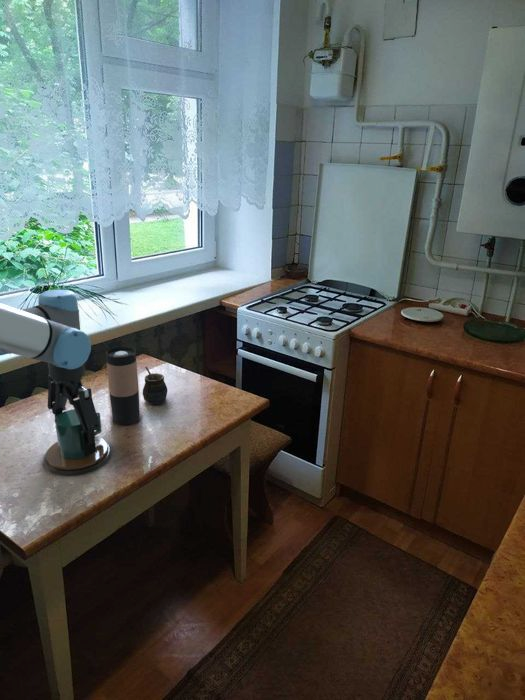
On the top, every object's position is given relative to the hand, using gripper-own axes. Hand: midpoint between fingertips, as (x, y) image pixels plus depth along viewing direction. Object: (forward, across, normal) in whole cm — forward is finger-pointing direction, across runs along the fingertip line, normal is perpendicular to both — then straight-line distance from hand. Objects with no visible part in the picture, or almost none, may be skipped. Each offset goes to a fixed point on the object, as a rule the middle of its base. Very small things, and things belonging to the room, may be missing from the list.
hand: (76, 445), depth 118 cm
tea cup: (+2, 0, 0) cm, 2 cm away
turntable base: (+3, 0, 0) cm, 3 cm away
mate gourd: (+3, +8, -31) cm, 32 cm away
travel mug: (+3, +6, -19) cm, 20 cm away
